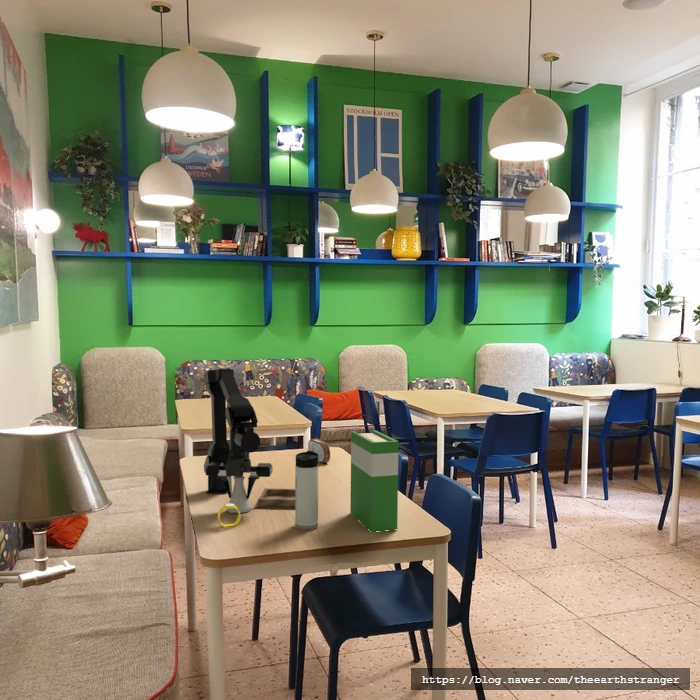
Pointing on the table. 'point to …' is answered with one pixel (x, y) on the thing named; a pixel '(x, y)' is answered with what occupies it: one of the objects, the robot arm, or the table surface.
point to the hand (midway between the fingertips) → (239, 498)
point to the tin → (320, 449)
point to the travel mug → (306, 490)
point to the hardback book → (374, 480)
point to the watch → (229, 508)
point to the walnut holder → (277, 498)
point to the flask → (239, 497)
